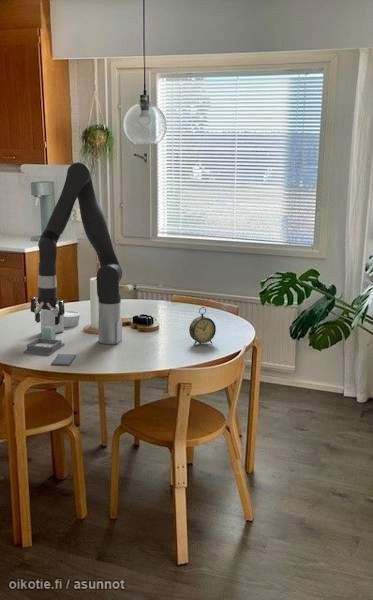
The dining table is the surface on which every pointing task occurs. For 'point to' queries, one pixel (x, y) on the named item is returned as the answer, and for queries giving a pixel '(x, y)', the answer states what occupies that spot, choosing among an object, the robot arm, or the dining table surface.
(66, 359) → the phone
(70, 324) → the ramekin
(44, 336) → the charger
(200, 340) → the alarm clock
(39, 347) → the grey shallow rectangular tray
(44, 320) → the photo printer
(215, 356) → the dining table surface
